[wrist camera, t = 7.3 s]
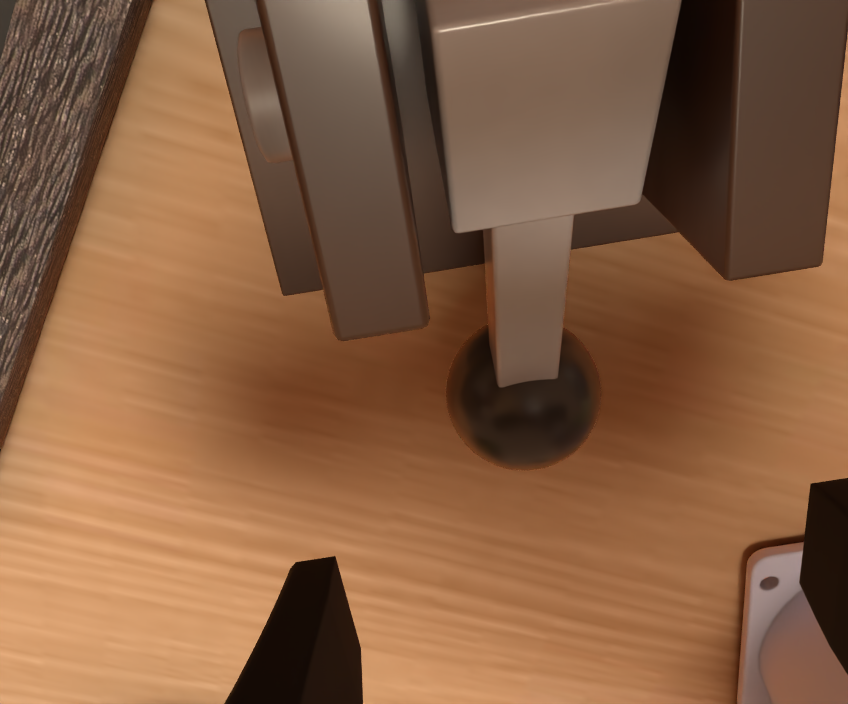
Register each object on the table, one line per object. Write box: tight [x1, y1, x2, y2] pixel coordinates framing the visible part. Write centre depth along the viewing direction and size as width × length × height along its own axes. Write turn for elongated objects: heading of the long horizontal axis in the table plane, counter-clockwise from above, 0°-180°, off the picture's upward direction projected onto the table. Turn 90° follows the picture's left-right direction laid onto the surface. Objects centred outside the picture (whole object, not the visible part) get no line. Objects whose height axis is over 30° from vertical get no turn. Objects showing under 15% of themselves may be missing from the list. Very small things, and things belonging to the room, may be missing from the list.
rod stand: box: [205, 0, 848, 341], centre depth 11 cm, size 10×9×9 cm
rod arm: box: [415, 0, 682, 471], centre depth 12 cm, size 11×3×3 cm, turn 9°
